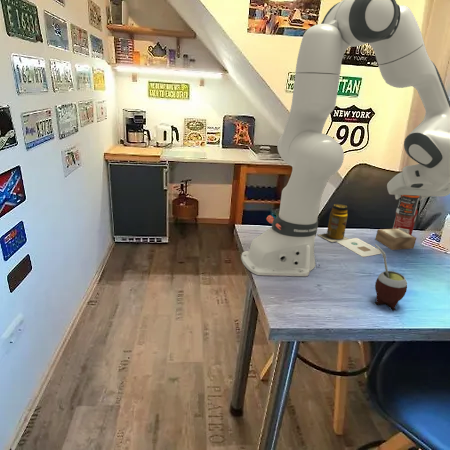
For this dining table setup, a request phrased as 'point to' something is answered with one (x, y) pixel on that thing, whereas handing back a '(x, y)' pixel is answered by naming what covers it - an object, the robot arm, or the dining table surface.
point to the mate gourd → (389, 286)
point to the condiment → (336, 223)
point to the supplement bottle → (407, 206)
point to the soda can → (405, 223)
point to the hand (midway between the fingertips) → (407, 198)
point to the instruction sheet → (359, 247)
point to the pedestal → (395, 239)
